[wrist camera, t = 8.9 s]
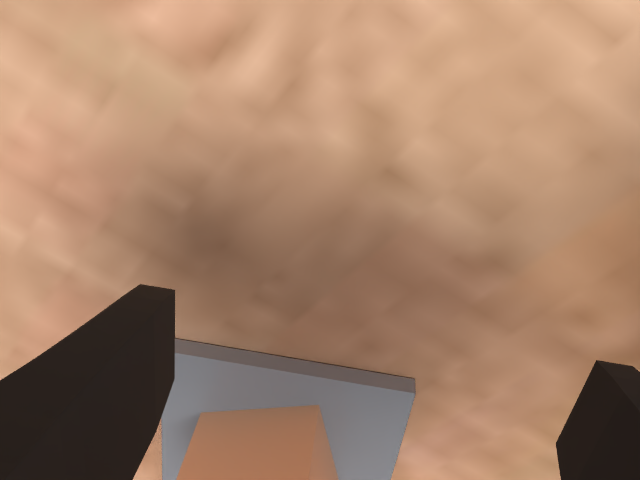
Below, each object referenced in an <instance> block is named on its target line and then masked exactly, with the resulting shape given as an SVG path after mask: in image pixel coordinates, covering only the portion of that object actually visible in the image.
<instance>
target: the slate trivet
mask: <svg viewBox="0 0 640 480" xmlns="http://www.w3.org/2000/svg"><path fill="white" fill-rule="evenodd" d="M415 394H416V391H415V379H412V378H406V377H400V376H394V375H388V374H382V373H376V372H370V371H364V370H358V369H352V368H347V367H341V366H335V365H329V364H323V363H317V362H311V361H305V360H299V359H293V358H287V357H281V356H275V355H270V354H264V353H258V352H252V351H246V350H240V349H234V348H228V347H222V346H216V345H210V344H204V343H199V342H193V341H187V340H181V339H175V379H174V382H173V385H172V388H171V391H170V394H169V397H168V400H167V403H166V405H165V408H164V411H163V414H162V416H161V417H162V480H176V479H177V476H178V473H179V471H180V468H181V465H182V462H183V460H184V457H185V454H186V452H187V449H188V446H189V444H190V441H191V438H192V436H193V433H194V430H195V427H196V425H197V422H198V419H199V417H200V414H201V413H203V412H218V411H233V410H248V409H263V408H278V407H294V406H309V405H319V407H320V411H321V414H322V418H323V422H324V426H325V430H326V434H327V437H328V441H329V445H330V449H331V453H332V456H333V460H334V464H335V468H336V472H337V475H338V479H339V480H391V477H392V473H393V470H394V466H395V463H396V460H397V456H398V453H399V449H400V446H401V442H402V439H403V435H404V432H405V429H406V425H407V422H408V418H409V415H410V411H411V408H412V404H413V401H414V398H415Z"/></svg>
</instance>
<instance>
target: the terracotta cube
mask: <svg viewBox="0 0 640 480" xmlns="http://www.w3.org/2000/svg"><path fill="white" fill-rule="evenodd" d="M176 480H339V479H338V475H337V472H336V468H335V464H334V460H333V456H332V453H331V449H330V445H329V441H328V437H327V434H326V430H325V426H324V422H323V418H322V414H321V411H320V407H319V405H309V406H294V407H278V408H263V409H248V410H233V411H218V412H203V413H201V414H200V417H199V419H198V422H197V425H196V427H195V430H194V433H193V436H192V438H191V441H190V444H189V446H188V449H187V452H186V454H185V457H184V460H183V462H182V465H181V468H180V471H179V473H178V476H177V479H176Z"/></svg>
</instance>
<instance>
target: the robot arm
mask: <svg viewBox="0 0 640 480" xmlns="http://www.w3.org/2000/svg"><path fill="white" fill-rule="evenodd" d="M174 379H175V290H172V289H166V288H160V287H154V286H148V285H142V284H140V285H138V286H137V287H135V288H134V289H133V290H131V291H130V292H128V293H127V294H125V295H124V296H122V297H121V298H120V299H118V300H117V301H116V302H114V303H113V304H111V305H110V306H109V307H107V308H106V309H105V310H103V311H102V312H100V313H99V314H98V315H96V316H95V317H94V318H92V319H91V320H89V321H88V322H87V323H85V324H84V325H82V326H81V327H80V328H78V329H77V330H76V331H74V332H73V333H71V334H70V335H68V336H67V337H65V338H64V339H63V340H61V341H60V342H58V343H57V344H55V345H54V346H52V347H51V348H49V349H48V350H47V351H45V352H44V353H42V354H41V355H39V356H38V357H36V358H35V359H33V360H32V361H30V362H29V363H27V364H26V365H24V366H22V367H21V368H19V369H18V370H16V371H14V372H13V373H11V374H10V375H8V376H7V377H5V378H3V379H2V380H0V480H132V479H133V477H134V475H135V473H136V471H137V469H138V467H139V465H140V463H141V461H142V459H143V457H144V455H145V453H146V451H147V449H148V447H149V445H150V443H151V441H152V439H153V437H154V435H155V433H156V430H157V427H158V425H159V422H160V419H161V416H162V414H163V411H164V408H165V405H166V403H167V400H168V397H169V394H170V391H171V388H172V385H173V382H174ZM556 448H557V455H558V462H559V469H560V476H561V480H640V372H639V371H638V370H637V369H635V368H634V367H633V366H627V365H621V364H616V363H610V362H604V361H598V360H596V362H595V364H594V366H593V368H592V370H591V373H590V375H589V377H588V379H587V381H586V383H585V385H584V387H583V389H582V391H581V393H580V395H579V397H578V399H577V401H576V403H575V405H574V407H573V409H572V411H571V414H570V416H569V418H568V420H567V422H566V424H565V426H564V428H563V430H562V432H561V434H560V436H559V438H558V440H557V442H556Z"/></svg>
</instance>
